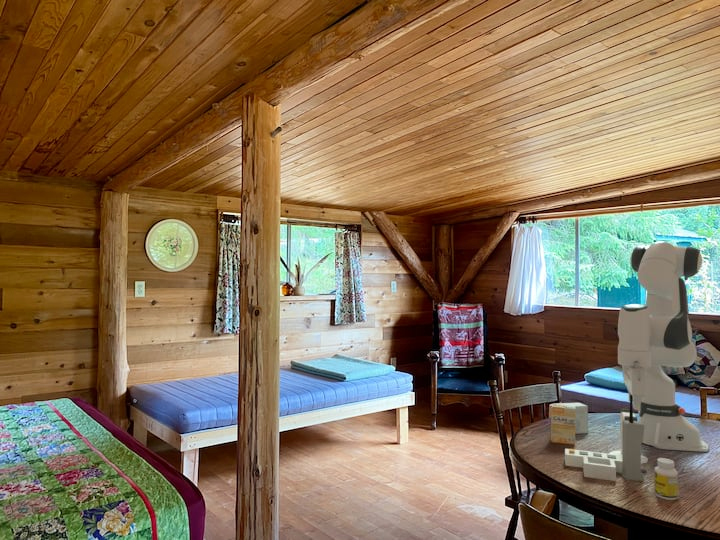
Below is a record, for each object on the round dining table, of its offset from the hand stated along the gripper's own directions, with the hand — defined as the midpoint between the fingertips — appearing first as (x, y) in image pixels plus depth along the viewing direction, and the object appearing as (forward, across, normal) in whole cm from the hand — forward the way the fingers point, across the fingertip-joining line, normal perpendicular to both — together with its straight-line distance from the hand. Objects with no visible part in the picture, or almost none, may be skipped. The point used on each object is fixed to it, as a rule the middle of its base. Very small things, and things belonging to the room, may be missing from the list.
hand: (634, 405), depth 151 cm
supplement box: (+22, +28, +20) cm, 41 cm away
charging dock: (+22, +3, +8) cm, 23 cm away
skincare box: (+22, +43, +16) cm, 51 cm away
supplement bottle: (+22, -10, -6) cm, 25 cm away
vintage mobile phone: (+22, 0, 0) cm, 22 cm away
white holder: (+22, +19, 0) cm, 29 cm away
